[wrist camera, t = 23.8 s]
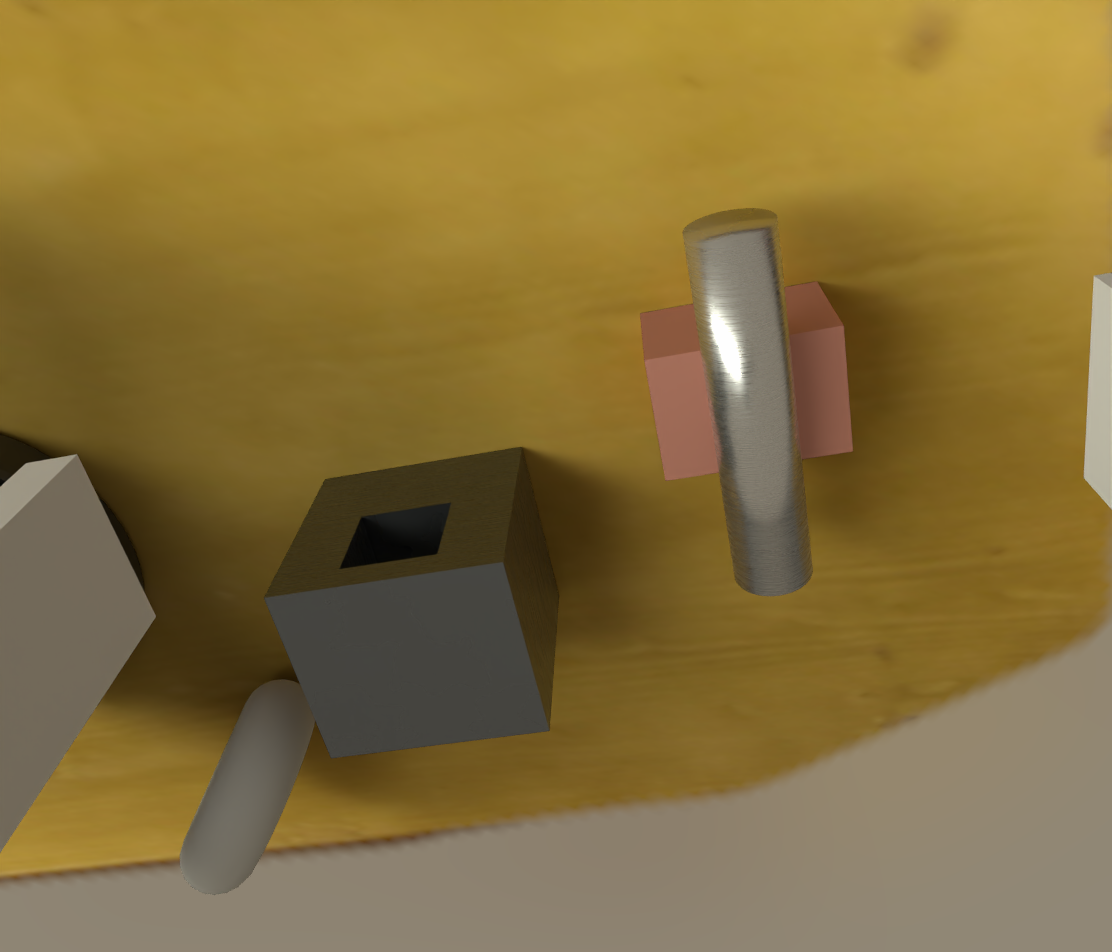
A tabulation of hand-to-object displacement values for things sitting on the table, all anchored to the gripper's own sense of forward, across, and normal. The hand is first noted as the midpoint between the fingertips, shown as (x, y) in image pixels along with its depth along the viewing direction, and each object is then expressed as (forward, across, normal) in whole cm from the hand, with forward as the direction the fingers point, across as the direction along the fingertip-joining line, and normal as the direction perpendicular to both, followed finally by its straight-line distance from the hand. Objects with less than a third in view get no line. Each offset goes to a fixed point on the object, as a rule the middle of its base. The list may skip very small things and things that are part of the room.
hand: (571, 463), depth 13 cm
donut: (+27, -21, -25) cm, 42 cm away
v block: (+27, +4, -10) cm, 29 cm away
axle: (+21, +4, -10) cm, 23 cm away
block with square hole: (+27, -10, -16) cm, 33 cm away
